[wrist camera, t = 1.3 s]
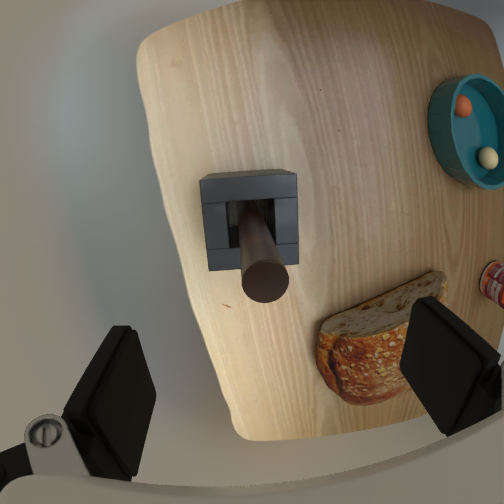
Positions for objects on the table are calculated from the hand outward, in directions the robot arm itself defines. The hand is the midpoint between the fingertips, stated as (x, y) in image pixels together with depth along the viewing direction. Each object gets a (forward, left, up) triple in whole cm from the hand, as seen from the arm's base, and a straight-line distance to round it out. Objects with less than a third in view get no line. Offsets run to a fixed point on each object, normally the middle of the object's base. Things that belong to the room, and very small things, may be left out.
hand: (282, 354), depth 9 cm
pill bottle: (+13, +40, -25) cm, 49 cm away
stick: (0, 0, -25) cm, 25 cm away
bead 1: (-13, +28, -23) cm, 39 cm away
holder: (0, 0, -25) cm, 25 cm away
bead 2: (-7, +33, -23) cm, 41 cm away
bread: (+20, +18, -25) cm, 37 cm away
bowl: (-10, +31, -25) cm, 41 cm away
